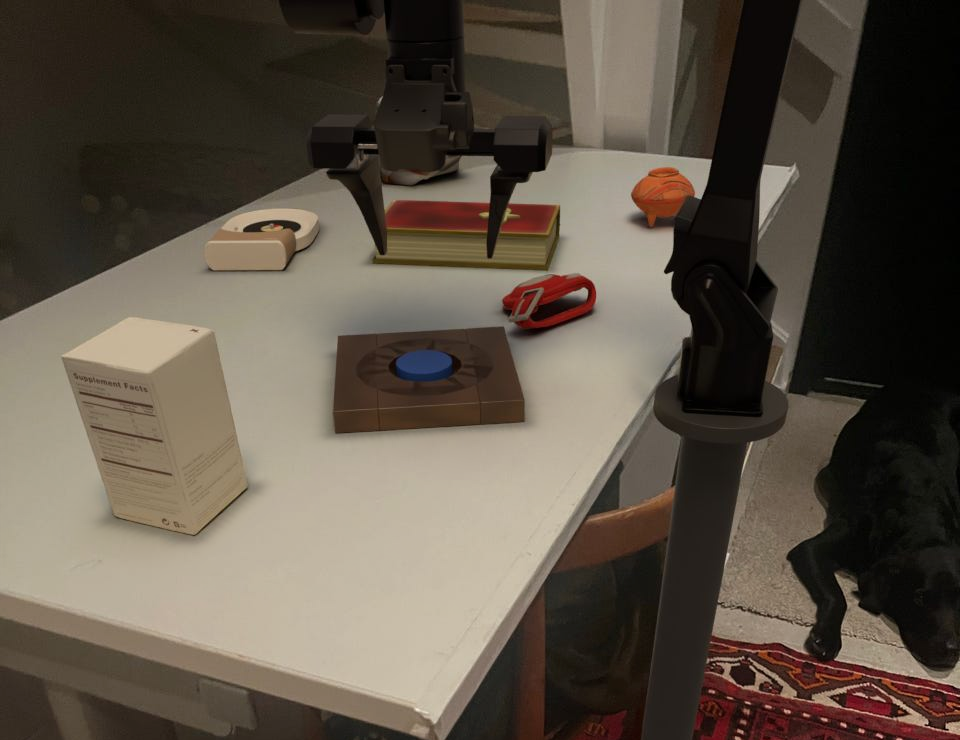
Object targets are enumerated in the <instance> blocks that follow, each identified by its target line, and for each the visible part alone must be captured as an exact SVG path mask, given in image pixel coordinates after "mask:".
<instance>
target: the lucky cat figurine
mask: <svg viewBox="0 0 960 740" xmlns="http://www.w3.org/2000/svg"><path fill="white" fill-rule="evenodd" d="M382 97H383V95H382V96H381V97H379V98H378V100H376V102H375V103H376V104H375V111H374V113H375V114H374V118H375V117H376V114H377V111H378V108H379V105H380V102H381V99H382ZM372 127H373V128H374V125H373V124H372ZM370 155H375V154H370ZM462 157H463V156H446V162H445V165H444V166H443V167H442V168H441V169H440V170H438V171H434V172H424V171H422V170H421V169H399V170H398V171H387V170H384V169H383V168H382V167H381V164H380V158H379V155H378V158H379V167H380V175H381V182H383V183H384V184H391V185H400V186H412V187H413V186H414V185H416V184H418V183H419V182H421V181H422V180H428V179H430V178H433V177H437V176H440V175H444V174H450V173H457V172H458V171H459V169H460V160H461V158H462Z"/></svg>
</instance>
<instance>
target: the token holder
mask: <svg viewBox="0 0 960 740" xmlns="http://www.w3.org/2000/svg"><path fill="white" fill-rule="evenodd" d="M336 342H337V343H336V358H335V372H334V387H333V399H332V400H333V402H332V417H333V424H334V425H333V426H334V432H335V433H336V434H343V433H358V432H374V431H375V432H377V431H390V430H391V431H392V430H409V429H424V428H426V429H427V428H439V427H440V428H441V427H456V426H472V425H474V426H475V425H491V424H492V425H493V424H505V423H506V424H507V423H508V424H509V423H525V418H526V417H525V415H526V410H525V409H526V399H525V396H524V392H523V389H522V386H521V382H520V379H519V375H518V372H517V368H516V365H515V361H514V357H513V354H512V350H511V347H510V344H509V340H508V337H507V333H506V329H505V327H504V326H486V327H467V328H452V329H451V328H450V329H434V330H433V329H432V330H415V331H397V332H380V333H361V334H345V335H344V334H343V335H338V336H337V341H336ZM421 350H432V351H439V352H442V353H445V354H447V355H448V356H450V357H451V359H452V373H453V375H452V376H450V377H448V378H445V379H441V380H437V381H426V382H416V381H408V380H403V379H400V378H397V368H396V362H397V360H398V358H399V357H401V356H402V355H404V354H407V353H410V352H414V351H421Z"/></svg>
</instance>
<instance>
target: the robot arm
mask: <svg viewBox="0 0 960 740" xmlns="http://www.w3.org/2000/svg"><path fill="white" fill-rule="evenodd" d="M802 3H803V0H743V2H742V7H741V11H740V18H739V22H738V26H737V27H738V28H737V32H736V37H735V42H734V47H733V51H732V58H731V62H730V67H729V72H728V76H727V81H726V87H725V92H724V97H723V103H722V107H721V112H720V117H719V123H718V127H717V131H716V137H715V142H714V147H713V152H712V157H711V162H710V167H709V171H708V177H707V182H706V185H705V188H704V191H703V193H702V196H701V198H698V197H695V196H694V197H693V196H690V195H687V196H686V198H685V200H684V202H683V204H682V205H681V207H680V209H679V211H678V213H677V214H675V215H674V220H673V233H672V234H673V235H672V236H673V238H672V239H673V240H672V241H673V242H672V243H673V244H672V252H671V255H670V258H669V260H668V262H667V264H666V266H665V268H664V270H663V274H665V275H668V274H671V273H672V276H671V279H670V292H671V295H672V299H673V301H675V302H676V304H677V305H678V307H679V308H680V309H681V311H683V312H684V313H685V314H686V315H688V317H689V321H690V325H691V329H690V335H689V336H685V337H683V339H682V341H681V350H680V355H679V356H680V357H679V366H678V373H677V375H678V380H677V395H678V396H679V397H682V412H684V413H691V414H708V415H725V416H742V417H761V416H762V415H763V404H762V394H763V389H764V384H765V381H766V378H767V372H768V367H769V362H770V357H771V353H772V352H771V351H772V347H773V346H772V345H773V341H774V331H773V325H772V322H771V321H772V317H773V314H774V309H775V305H776V300H777V296H778V292H779V288H778V285H776V283H775V282H774V281H773V279H772V278H771V277H770V276H769V275H768V273H767V272H766V271H765V269H764V267H763V266H762V265H761V264H760V263H759V262H758V260H757V257H758V247H759V245H758V243H759V231H760V214H761V213H760V212H761V211H760V209H761V207H760V205H761V181H762V174H763V171H764V165H765V162H766V157H767V154H768V149H769V143H770V141H771V136H772V132H773V127H774V123H775V119H776V114H777V110H778V106H779V103H780V97H781V93H782V89H783V86H784V81H785V76H786V72H787V69H788V65H789V59H790V55H791V51H792V47H793V42H794V37H795V34H796V29H797V24H798V21H799V17H800V13H801V8H802ZM278 4H279V7H280V8H279V9H280V10H281V14H282V17H283V19H284V21H285V23H286V25H287V26H288V28H289V30H290V31H292V32H293V33H294V34H299V35H328V36H335V35H336V36H369V34H371V33H372V31H373V29H374V27H375V25H376V22H377V20H381V19H382V18H383V17H384V24H385V25H384V26H385V36H386V49H387V51H386V52H387V58H386V59H385V85H384V90H383V94H382V96H383V97H382V96H381V97H382V99H381V102H380V105H379V108H378V111H377V114H376V117H375V116H374V120H373V123H372V120H371V118H370V116H369V114H330V113H329V114H327V115H326V116H325V117H323V118H321V119H320V120H319V121H318V122H316V123H315V124H314V125H312V127H311V128H310V129H309V130H308V132H307V134H306V142H305V144H306V152H307V153H306V154H307V161H308V167H310V168H312V169H324V170H325V169H327V171H325V174H326V176H327V178H328V180H333V181H334V180H335V181H339V182H340V183H341V184H342V185H343V187H345V188H346V189H347V190H348V191H349V193H350V195H351V196H352V198H353V199H354V201H355V203H356V205H357V207H358V209H359V211H360V212H361V216H362V217H363V219H364V222H365V224H366V226H367V229H368V231H370V232H369V233H370V236H371V238H372V240H373V242H374V246H375V245H376V247H377V250H378V252H379V254H380V255H385V254H386V253H387V227H386V219H385V202H384V194H383V186H382V180H381V175H380V167H379V158H380V164H381V167H382V168H383V169H384V170H387V171H398V170H399V169H421V170H422V171H424V172H434V171H438V170H440V169H441V168H442V167H443V166H444V165H445V162H446V156H462V157H493V161H494V162H495V163H496V166H495V168H494V169H493V171H492V172H491V174H490V176H489V187H490V198H489V203H490V206H489V218H488V229H487V240H486V245H487V258H488V259H492V257H493V255H494V251H495V248H496V245H497V241H498V238H499V234H500V231H501V227H502V224H503V221H504V217H505V214H506V210H507V207H508V204H509V203H510V200H511V197H512V195H513V194H514V190H515V188H516V187H517V184H525V183H528V182H529V181H530V180H531V177H532V175H533V173H540V172H544V171H547V167H548V165H549V163H550V160H551V158H552V155H553V136H554V135H553V133H554V132H553V123H551V122H550V120H549V119H548V117H547V116H544V115H543V116H542V115H538V116H537V115H502V117H501V119H500V121H498V123H497V125H496V126H495V128H475V119H474V118H475V117H474V108H473V103H472V98H471V94H470V92H469V91H466V51H465V28H464V27H465V25H464V23H465V22H464V0H278ZM373 125H374V128H373V127H372V126H373ZM370 154H375V155H370ZM378 155H379V158H378Z"/></svg>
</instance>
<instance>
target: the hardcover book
mask: <svg viewBox="0 0 960 740" xmlns="http://www.w3.org/2000/svg"><path fill="white" fill-rule="evenodd" d="M489 206H490V202H480V201H479V202H476V201H447V200H415V199H414V200H411V199H409V200H408V199H393V200H392V201H391V202H390V203H389V204H388V206H387V207H386V208H384V210H385V219H386V227H387V253H386V254H385V255H380V254H379V252H378V250H377V247H376V245H375V244H374V253H375V255H374V256H373V258H372V259H371V263H372V264H390V265H413V266H414V265H415V266H436V267H438V266H439V267H459V268H460V267H462V268H463V267H464V268H483V269H484V268H486V269H487V268H488V269H490V268H491V269H507V270H508V269H511V270H533V271H535V270H536V271H549V268H550V265H551V263H552V260H553V257H554V254H555V252H556V248H557V246H558V243H559V239H560V229H561V228H560V227H561V204H543V203H542V204H540V203H510V202H509V204H508V207H507V210H506V214H505V217H504V221H503V224H502V227H501V231H500V234H499V238H498V241H497V245H496V248H495V251H494V255H493V257H492V259H488V258H487V245H486V240H487V229H488V218H489ZM368 231H369V230H368ZM369 233H370V231H369Z"/></svg>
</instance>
